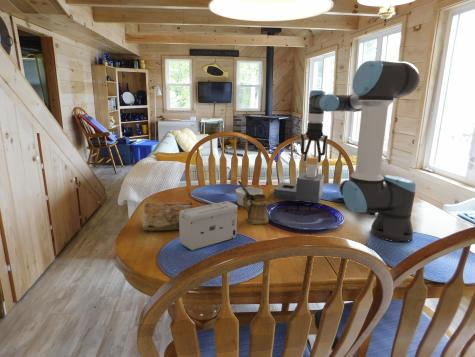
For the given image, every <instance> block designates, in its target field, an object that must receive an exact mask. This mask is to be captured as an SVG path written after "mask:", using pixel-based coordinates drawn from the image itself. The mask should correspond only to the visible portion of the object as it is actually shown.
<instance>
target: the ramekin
mask: <svg viewBox="0 0 475 357" xmlns="http://www.w3.org/2000/svg"><path fill="white" fill-rule="evenodd" d="M245 188H246V189H247V191H248V192H249V194H253V195H256V194H262V195H264V194H263V193H264V192H263V190H262V189H260V188H257V187H251V186H247V187H246V186H245ZM235 194H236V197H235V198H236V203H237V205H239V206H240V207H244V205H243V198H244V196H245V194H246V193H245V192H244V190H243V189H242V187H239V188H238V187H237V188H235ZM247 204H248V205H249V206H250V204H251V203H250V200H248V201H247ZM244 208H245V207H244Z"/></svg>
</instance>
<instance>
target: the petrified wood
mask: <svg viewBox="0 0 475 357" xmlns="http://www.w3.org/2000/svg"><path fill="white" fill-rule="evenodd" d="M143 206H144V207H143V208H144V211H143V212H144V216H143V222H142V223H143V224H142V229H143V230H145V231H172V230H179V212H180V211H181V210H186V209H191V208H194V206H193V202H192V201H191V202H190V201H189V202H187V201H186V202H182V201H181V202H180V201H168V202H167V201H166V202H165V201H164V202H163V201H162V202H147V203H144V205H143Z"/></svg>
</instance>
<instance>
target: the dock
mask: <svg viewBox="0 0 475 357" xmlns="http://www.w3.org/2000/svg"><path fill="white" fill-rule="evenodd" d="M324 179H325V174H323V173H316V177H315V178H309V177H306V171H305V172H304V171H303V172H302V173H301V174H300V175H299V176H298V177H296V183H291V182H282V181H281V182H279V184H278V185H276V187H275V188H274V189H273V199H276V200H283V201H289V200H299V201H310V202H315V203H320V202H321V199H322V197H323V189H324Z"/></svg>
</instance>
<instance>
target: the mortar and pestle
mask: <svg viewBox="0 0 475 357" xmlns="http://www.w3.org/2000/svg"><path fill="white" fill-rule="evenodd" d="M237 183H238V184H239V186H240V188H242V189H243V190H244V192H245V193H246V194H245V196H244V198H243V205H244V209H245V210H246V212H247V218H246V221H247V222H248V223H249V224H252V225H258V226H260V225H261V226H262V225H265V224H268V223H269V216H268V207H267V204H268V200H267V196H266V195H265V194H256V195H253V194H249V192H248V191H247V189H246V188H245V187H246V186H245V185H244V184H243V182H242V181H240V180H237ZM248 200H250V203H251V204H250V206H249V205H248V204H247V201H248Z"/></svg>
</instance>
